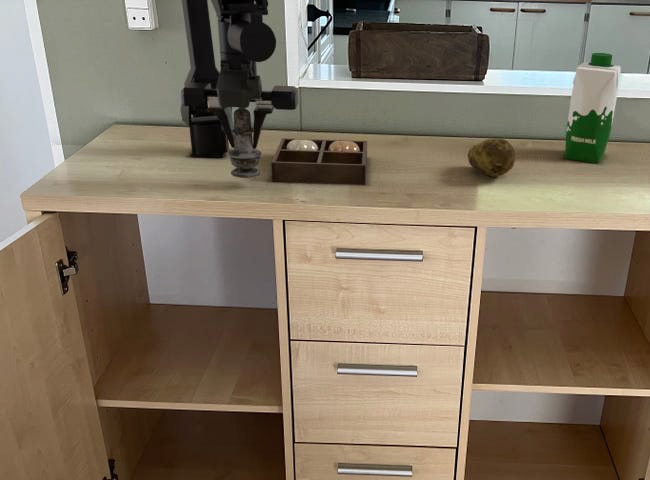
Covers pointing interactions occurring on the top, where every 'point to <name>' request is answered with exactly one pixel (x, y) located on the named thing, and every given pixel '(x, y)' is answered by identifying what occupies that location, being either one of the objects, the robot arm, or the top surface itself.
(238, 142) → the grey chess piece
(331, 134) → the top surface
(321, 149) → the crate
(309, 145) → the cream egg
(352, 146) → the brown egg
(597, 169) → the top surface
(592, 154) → the milk carton
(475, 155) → the potato
